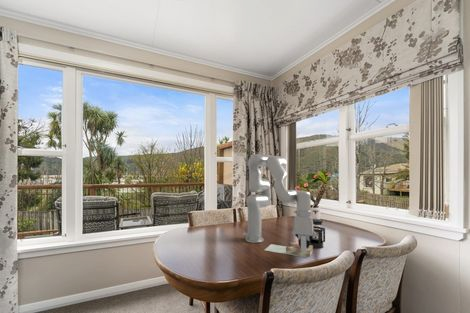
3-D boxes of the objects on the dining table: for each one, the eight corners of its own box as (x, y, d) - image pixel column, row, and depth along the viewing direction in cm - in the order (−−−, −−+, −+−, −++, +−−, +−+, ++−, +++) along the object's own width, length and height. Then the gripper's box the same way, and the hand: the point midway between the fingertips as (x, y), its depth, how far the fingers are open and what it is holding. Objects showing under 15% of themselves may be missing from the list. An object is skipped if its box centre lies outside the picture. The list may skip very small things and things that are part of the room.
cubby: (286, 253, 139) (286, 247, 139) (290, 247, 148) (290, 242, 148) (309, 257, 133) (309, 250, 133) (312, 251, 142) (312, 245, 142)
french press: (312, 249, 146) (312, 212, 148) (304, 244, 156) (304, 209, 157) (328, 248, 149) (328, 211, 150) (320, 243, 158) (319, 209, 159)
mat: (264, 250, 144) (264, 250, 144) (270, 244, 155) (270, 244, 155) (309, 258, 132) (309, 258, 132) (313, 251, 143) (313, 250, 143)
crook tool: (300, 250, 131) (300, 235, 131) (304, 244, 141) (304, 231, 142) (306, 251, 129) (306, 236, 130) (310, 245, 140) (309, 231, 140)
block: (294, 252, 139) (294, 244, 140) (296, 250, 144) (296, 241, 144) (302, 254, 137) (302, 245, 137) (304, 251, 142) (304, 243, 142)
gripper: (287, 213, 133) (287, 246, 132) (318, 215, 126) (318, 251, 125) (290, 211, 140) (291, 243, 139) (319, 213, 132) (320, 247, 131)
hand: (304, 246), depth 132 cm, fingers closed on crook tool, 3 cm apart
